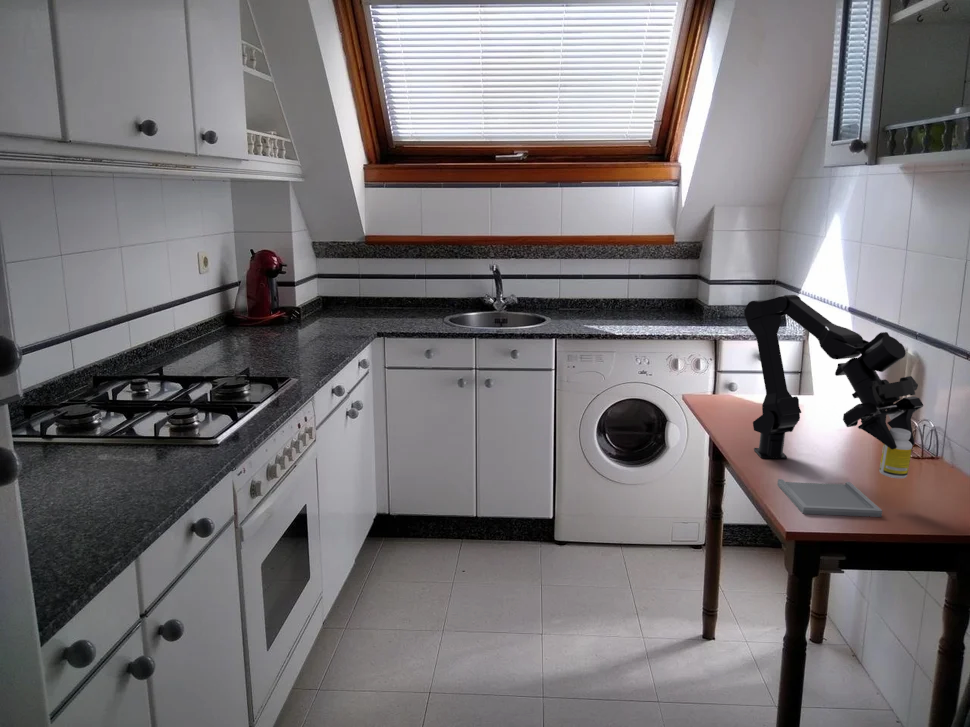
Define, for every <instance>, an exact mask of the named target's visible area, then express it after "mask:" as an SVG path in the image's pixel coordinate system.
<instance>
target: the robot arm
mask: <svg viewBox="0 0 970 727" xmlns="http://www.w3.org/2000/svg"><path fill="white" fill-rule="evenodd" d="M743 313H744V314H743V315H744V318H745V321H746V324H747V327H748V329H749V330H750V331H751V333H753V335H754V336H755V338H756V343H757V348H758V353H759V360H760V366H761V371H762V376H763V377H762V378H763V382H764V388H765V389H764V390H765V396H764V398H763V399H764V400H763V402H762V406H761V407H762V408H761V409H762V414H761V415H760V416H758V417H757V418H755V420H754V421H752V426H753V431H755V432H757V433H760V436H759V444H758V447H754V448H753V450H754V452H755V453H756V454H757V455H758V456H759V457H760V458H762V459H776V460H777V459H778V460H782V459H783V460H787V459H788V456H787V455H786V454H785V453H784V446H785V445H784V444H785V437H786V433H792V432H793V431H794V429H795V427H796V425H798V422H799V421H801V420H800V419H801V413H802V410H801V408H800V399H799V398H798V396H792V394H791V393H790V392H789V390H788V386H787V380H786V375H785V370H784V364H783V359H782V354H781V352H782V351H781V348H780V341H779V337H778V333H779V329H780V327H781V324H782V317H783V316H787V317H789V318H790V319H791V320H793V321H794V322H795V323H797V324H798V325H799V326H801V327H802V328H803V329H804V330H806V331H807V332H808V333H809V334H811V335H813V337H815V338H816V339H817V340H818V343H819V346H820V348H821V349H822V350H823V351H824V353H825V354H826V355H827V356H828V357H829V358H830V359H833V360H843V359H846V360H847V359H849V360H848V361H845V362H839V363H838V364H837V367H836V369H835V373H834V375H835V376H836V377H837V376H840V377H841V376H845V377H846V378H847V380H848V382H849V383H850V386H851V387H852V389H853V390H854V392H853V393H852V394H851V396H852V398H853V399H859V401H860V403H858V404H856V405H855V406H853V407H851V408H850V409H848V410H846V412H844V413H843V417H842V421H843V422H844V425H845V426H846V428H852V427H857V428H858V429H859V430H862V431H864V432H866V433H867V434H869V435H870V436H872V437H874V438H875V439H876V440H878V441H879V442H881V443H882V444H883V445H884V444H885V445H886V446H888V447H889V448H890V449H892V450H893V449H895V448H897V446H896V444H895V441H894V439H893V437H892V435H891V433H890V429H891V428H901V429H905V430H908V431H910V432H911V436H910V439H909V440H908V441H909V442H911V444H912V447H913V446H914V445H916V444H915V443H916V442H915V438H914V432H913V427H912V417H913V414H914V413H916V412H917V411H919V410H920V409H922V408H923V407H924V405H925V404H923V402H922V400H921V399H920V397H917V396H914V395H916V391H917V389H918V386H919V383H917V381H916V380H915V379H914V377H913V376H911V375H909V376H905V377H900V378H899V381H895V382H889V380H887V379H881V377H880V376H879V374H878V373H877V372H879V373H883V372H884V371H886V370H888V369H890V368H891V367H892V366H894V365H895V364H897V363H898V362H899V361H900V360H902V359H903V358H905V356H906V353H907V352H906V349H905V346H904V345H903V343H902V342H900V341H899V340H897V339H896V338H895V337H893V336H890V334H889V332H886V331H885V332H884V331H882V332H879V333H877V334H876V335H875V337H874V338H873V339H872V340H870V341H869V340H866V339H864V338H863V337H862V335H860V333H858V332H856V331H854V330H851V329H850V328H847V327H844V326H840V325H837V324H835V323H833V322H832V321H830V320H829V319H828V318H826V317H825V316H823V315H822V314H821V313H820V312H818V311H816V309H814V308H812V307H811V306H810V305H809V304H807V303H806V302H805V301H803V300H802V298H801V297H800V296H798V295H796V294H783V295H779V296H778V297H777V296H776V297H774V298H770V299H763V300H762V299H760V300H759V299H758V300H751V301H748V303H747V304H746V306H745V307H744V312H743ZM909 395H910V396H909ZM906 396H907V397H906ZM901 397H902V398H901ZM887 416H888V417H889V419H890V420H888V422H887ZM859 421H860V423H861V424H860V425H858V423H859ZM888 426H889V427H891V428H890V429H889V427H888Z"/></svg>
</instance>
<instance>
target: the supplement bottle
mask: <svg viewBox="0 0 970 727" xmlns="http://www.w3.org/2000/svg"><path fill="white" fill-rule="evenodd" d="M889 431H890V433H891V435H892V437H893V439H894V441H895V444H896V446H897V448H895V449H893V450H892V449H890V448H889V447H888V446H886V445H885V444H883V445H882V451H881V457H880V463H879V473H880V474H881V475H883V476H885V477H888V478H892V479H905V478H907V477H908V473H909V469H910V463H911V459H912V458H911V456H912V452H913V446H912V444H911V442H909V441H908V440H909V439H910V436H911V432H910V431H908V430H905V429H901V428H890V429H889Z"/></svg>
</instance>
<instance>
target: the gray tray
mask: <svg viewBox="0 0 970 727" xmlns="http://www.w3.org/2000/svg"><path fill="white" fill-rule="evenodd" d="M777 486H778V488H779V489H780V490H781V491H782V492H783V493H784V494H785V496H787V497H788V500H790V501H791V502H792V503H793V505H795V507H796V508H797V509H798V510H799V511H800V512H801V513H802V514H805V515H823V516H824V515H828V516H849V517H850V516H851V517H869V516H870V517H872V518H876V517H877V518H883V517H882V515H883V510H882V508H880V507H879V506H878V505H877V504H876V503H874V501H872V500H871V499H870V498H869V497H867V495H865V494H864V493H863V492H862V491H861V490H860V489H859V488H857V487H856V486H855V485H854V484H853V483H852V482H850V481H845V482H844V483H820V482H800V481H799V482H795V481H794V482H793V481H785V480H784V479H783V478H778V479H777ZM870 517H869V518H870Z"/></svg>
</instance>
